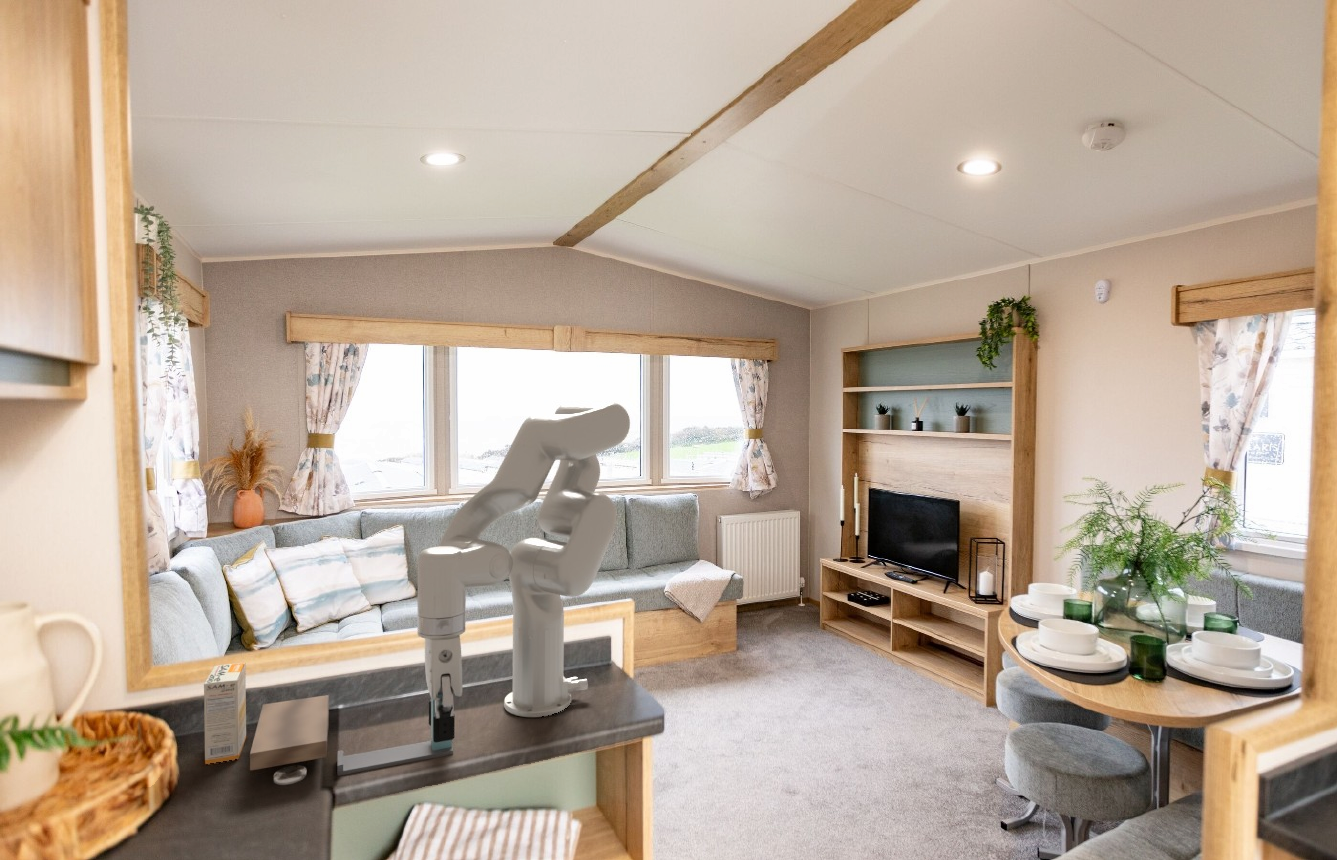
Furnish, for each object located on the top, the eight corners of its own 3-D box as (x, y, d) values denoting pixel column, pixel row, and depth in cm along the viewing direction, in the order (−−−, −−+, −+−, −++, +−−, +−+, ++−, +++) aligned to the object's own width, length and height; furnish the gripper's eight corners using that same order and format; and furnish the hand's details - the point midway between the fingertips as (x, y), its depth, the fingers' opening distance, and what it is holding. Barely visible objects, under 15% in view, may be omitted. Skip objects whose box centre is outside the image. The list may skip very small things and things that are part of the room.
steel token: (307, 769, 110) (307, 763, 110) (306, 783, 106) (305, 776, 106) (274, 775, 108) (274, 769, 108) (272, 789, 104) (272, 783, 104)
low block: (328, 727, 123) (328, 695, 123) (326, 778, 107) (326, 740, 106) (263, 737, 119) (262, 704, 119) (250, 792, 102) (249, 753, 102)
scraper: (448, 741, 119) (448, 684, 119) (452, 754, 114) (453, 696, 114) (337, 761, 112) (337, 701, 111) (337, 776, 107) (337, 714, 107)
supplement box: (213, 743, 117) (212, 665, 117) (246, 738, 119) (246, 661, 119) (203, 766, 110) (202, 683, 109) (238, 760, 111) (238, 678, 111)
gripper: (474, 636, 109) (473, 751, 110) (457, 607, 125) (457, 708, 125) (423, 642, 106) (422, 760, 107) (412, 611, 122) (412, 715, 122)
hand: (441, 731), depth 116 cm, fingers open, 5 cm apart
